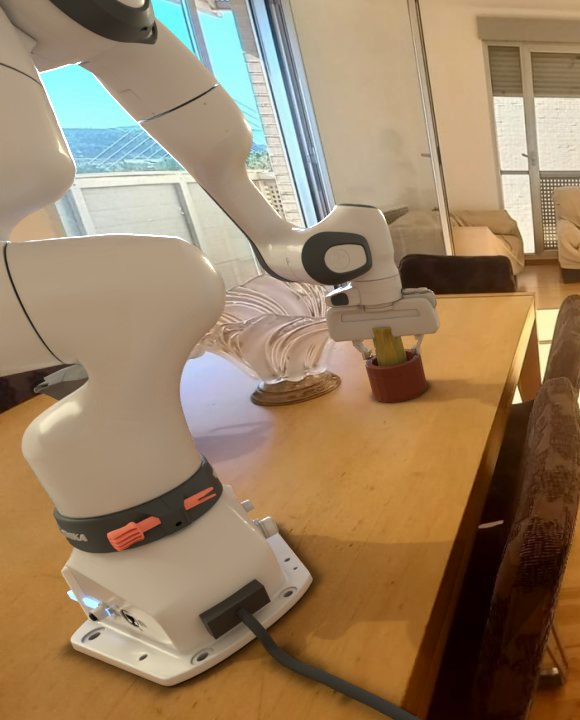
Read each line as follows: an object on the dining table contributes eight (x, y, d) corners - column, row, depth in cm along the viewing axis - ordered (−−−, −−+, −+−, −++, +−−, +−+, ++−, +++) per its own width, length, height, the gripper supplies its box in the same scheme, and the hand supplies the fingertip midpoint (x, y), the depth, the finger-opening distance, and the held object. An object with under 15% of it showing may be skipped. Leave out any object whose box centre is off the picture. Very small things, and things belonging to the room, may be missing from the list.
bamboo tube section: (393, 397, 96) (376, 331, 90) (377, 390, 99) (360, 325, 94) (420, 386, 100) (406, 322, 95) (404, 379, 104) (390, 317, 98)
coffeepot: (105, 473, 75) (48, 371, 68) (58, 469, 77) (-3, 368, 70) (198, 423, 89) (159, 334, 82) (156, 421, 91) (114, 333, 84)
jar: (437, 385, 102) (431, 353, 99) (396, 406, 93) (388, 372, 91) (404, 377, 106) (397, 346, 103) (362, 396, 98) (353, 363, 95)
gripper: (436, 282, 96) (448, 346, 101) (327, 290, 93) (345, 355, 98) (430, 290, 90) (443, 357, 96) (314, 299, 87) (334, 367, 92)
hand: (393, 356), depth 97 cm, fingers open, 8 cm apart
